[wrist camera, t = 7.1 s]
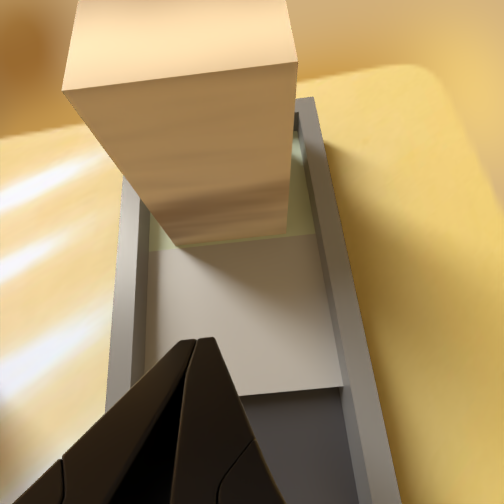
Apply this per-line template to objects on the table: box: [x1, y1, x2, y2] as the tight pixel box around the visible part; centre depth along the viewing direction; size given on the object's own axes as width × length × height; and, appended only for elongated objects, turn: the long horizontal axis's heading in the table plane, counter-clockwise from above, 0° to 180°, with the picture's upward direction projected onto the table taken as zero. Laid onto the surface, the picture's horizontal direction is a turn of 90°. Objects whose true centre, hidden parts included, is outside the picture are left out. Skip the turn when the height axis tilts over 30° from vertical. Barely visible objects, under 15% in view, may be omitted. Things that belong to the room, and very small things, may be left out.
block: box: [62, 0, 298, 246], centre depth 14 cm, size 6×6×10 cm
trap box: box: [105, 97, 402, 504], centre depth 15 cm, size 30×11×3 cm, turn 5°
